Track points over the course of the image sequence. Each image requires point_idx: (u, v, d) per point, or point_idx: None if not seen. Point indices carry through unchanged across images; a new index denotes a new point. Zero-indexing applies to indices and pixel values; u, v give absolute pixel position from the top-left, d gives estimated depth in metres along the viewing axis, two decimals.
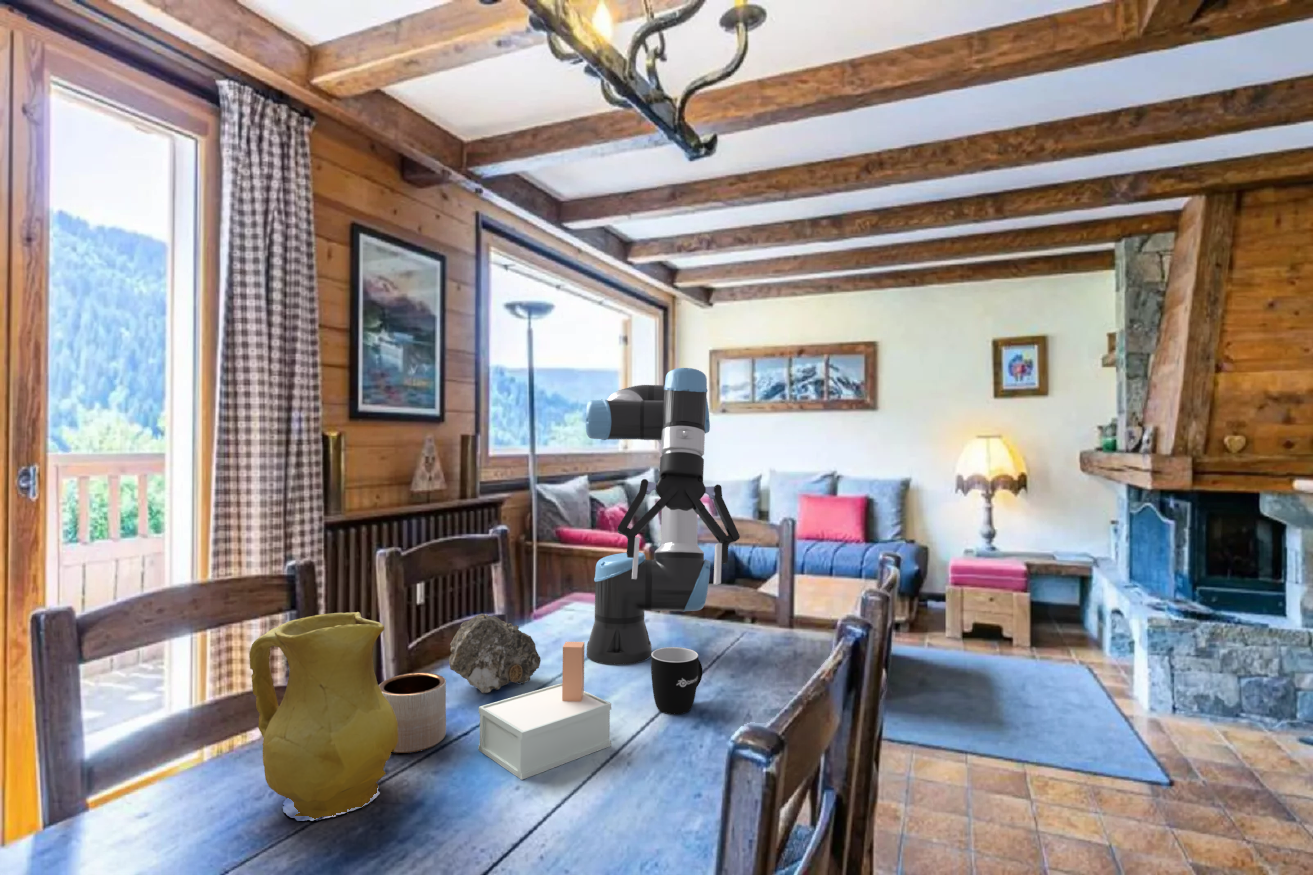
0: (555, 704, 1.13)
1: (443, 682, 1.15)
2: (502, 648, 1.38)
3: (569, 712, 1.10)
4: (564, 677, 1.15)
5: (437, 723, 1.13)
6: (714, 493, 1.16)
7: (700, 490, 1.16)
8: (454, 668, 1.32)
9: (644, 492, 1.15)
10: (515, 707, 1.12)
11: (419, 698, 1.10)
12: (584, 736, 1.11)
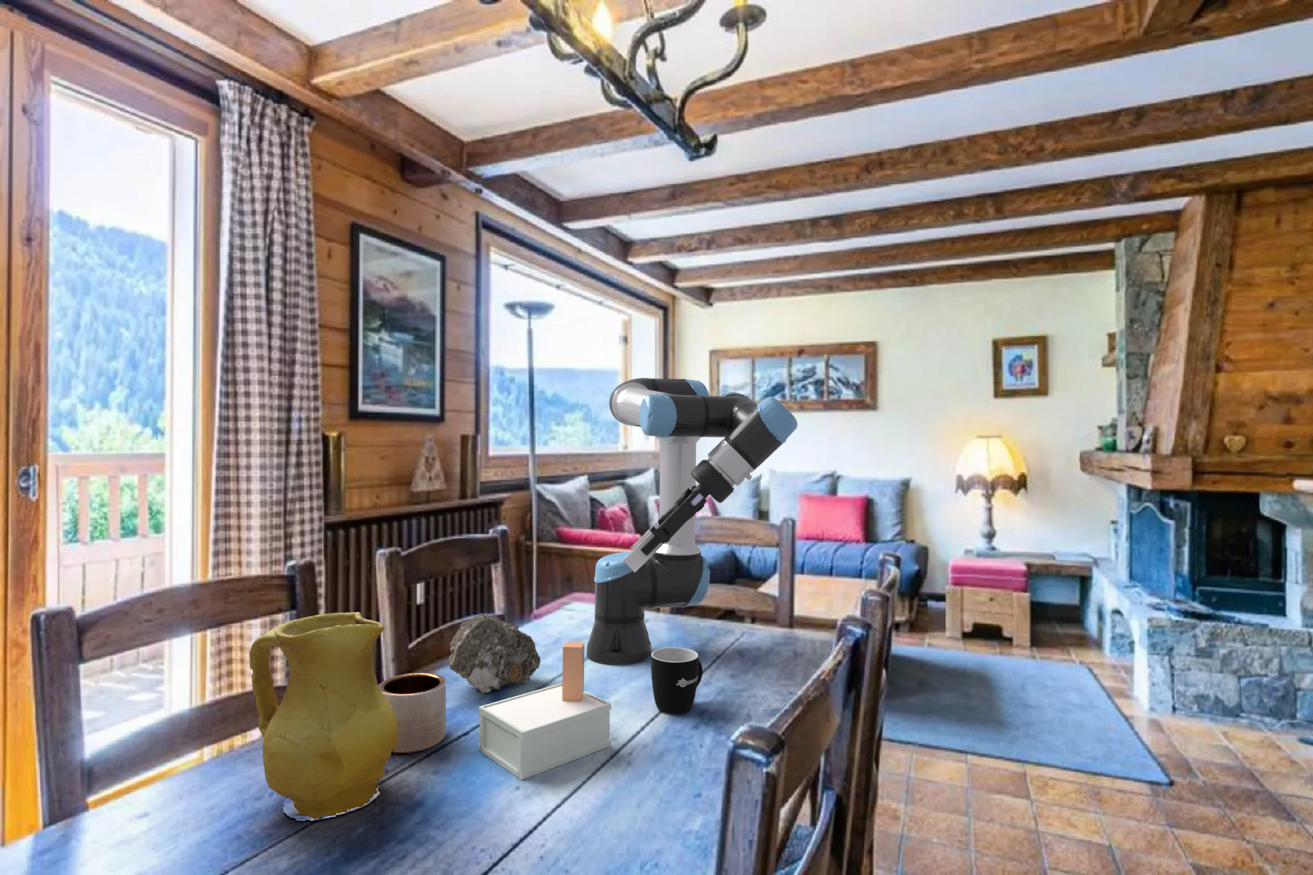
0: (555, 704, 1.13)
1: (443, 682, 1.15)
2: (501, 648, 1.38)
3: (569, 712, 1.10)
4: (564, 677, 1.15)
5: (437, 723, 1.13)
6: None
7: None
8: (454, 668, 1.32)
9: None
10: (515, 707, 1.12)
11: (419, 698, 1.10)
12: (584, 736, 1.11)
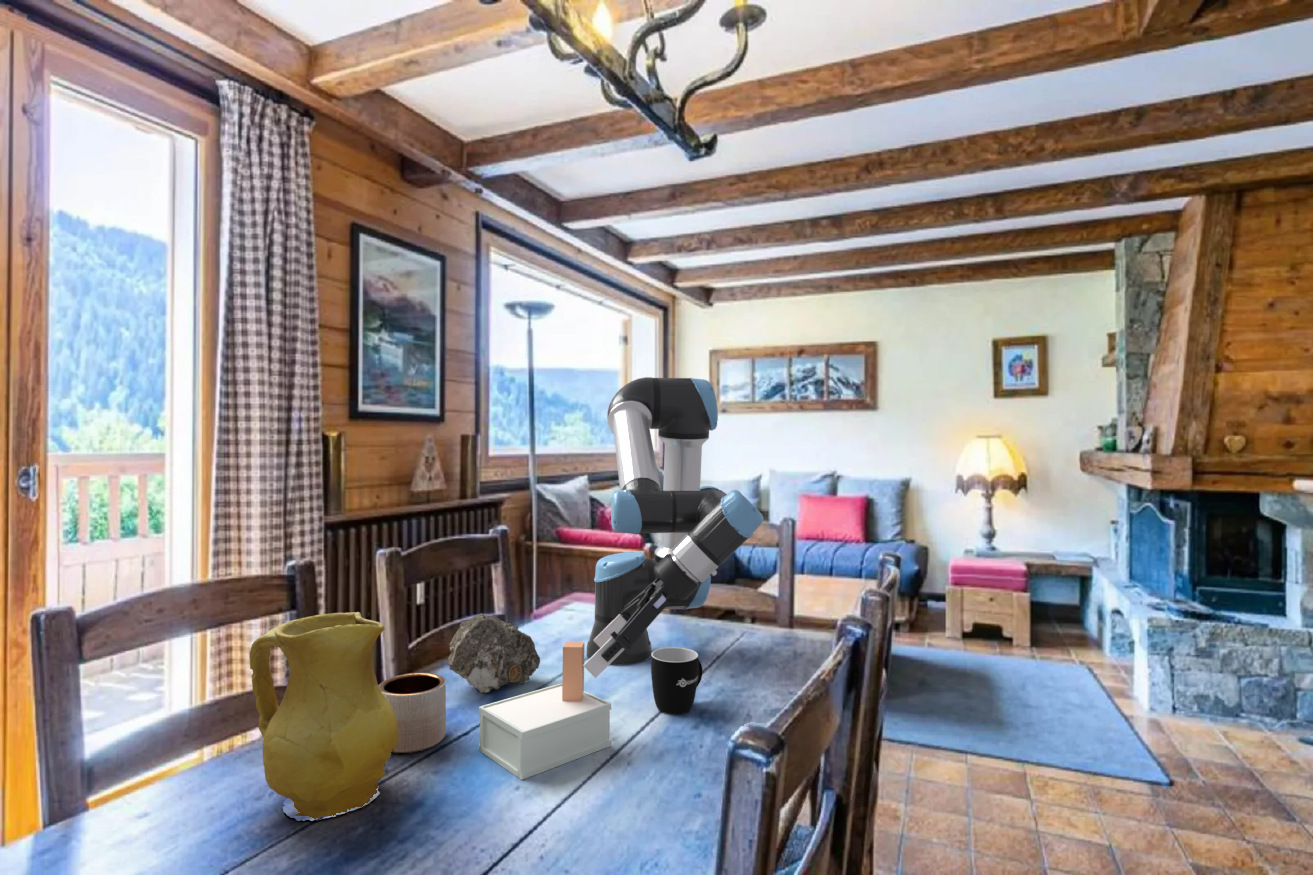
0: (555, 704, 1.13)
1: (443, 682, 1.15)
2: (501, 648, 1.38)
3: (569, 712, 1.10)
4: (564, 677, 1.15)
5: (437, 723, 1.13)
6: None
7: None
8: (453, 668, 1.32)
9: None
10: (515, 707, 1.12)
11: (419, 698, 1.10)
12: (584, 736, 1.11)
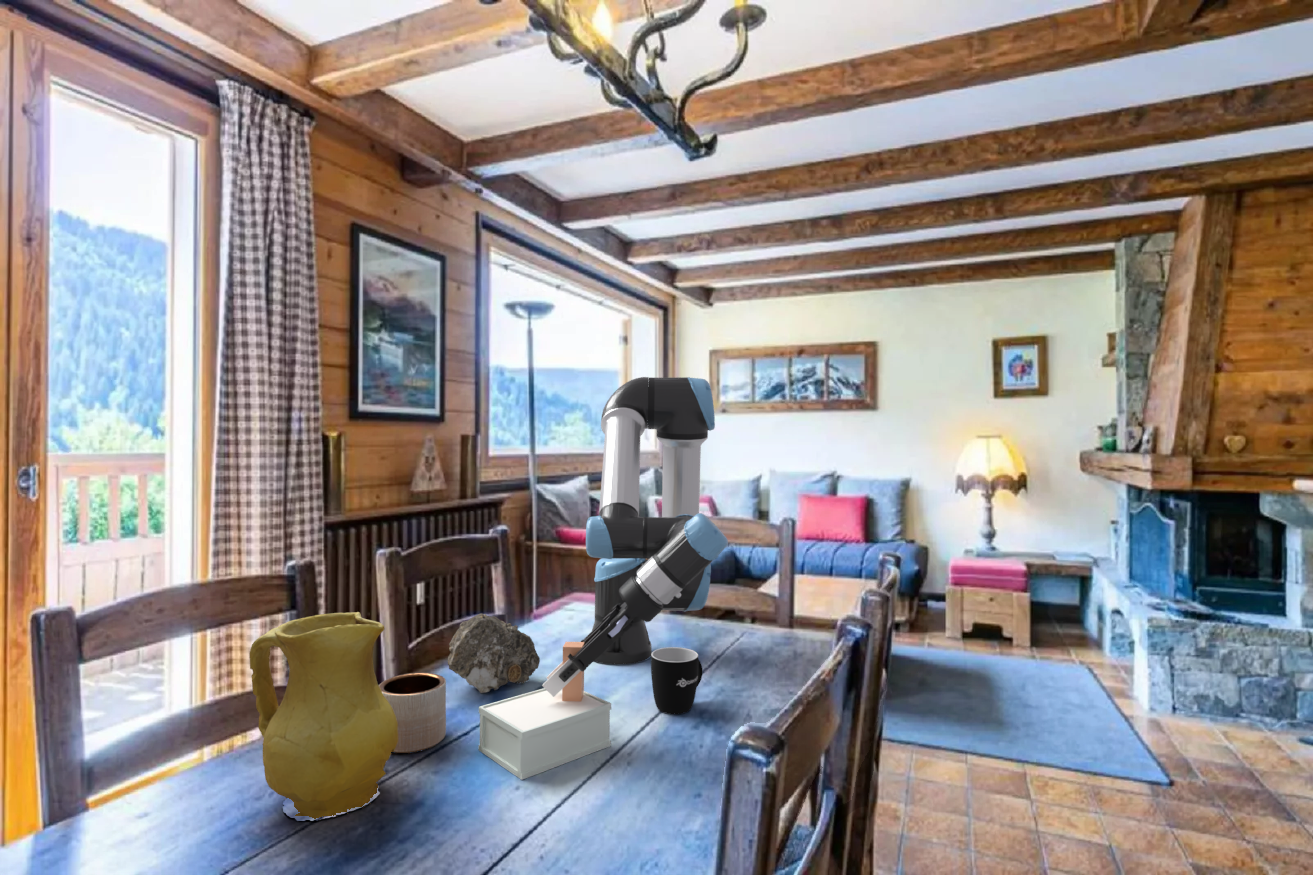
0: (555, 704, 1.13)
1: (443, 682, 1.15)
2: (500, 648, 1.38)
3: (569, 712, 1.10)
4: None
5: (437, 723, 1.13)
6: None
7: None
8: (452, 668, 1.32)
9: None
10: (515, 707, 1.12)
11: (419, 698, 1.10)
12: (584, 736, 1.11)
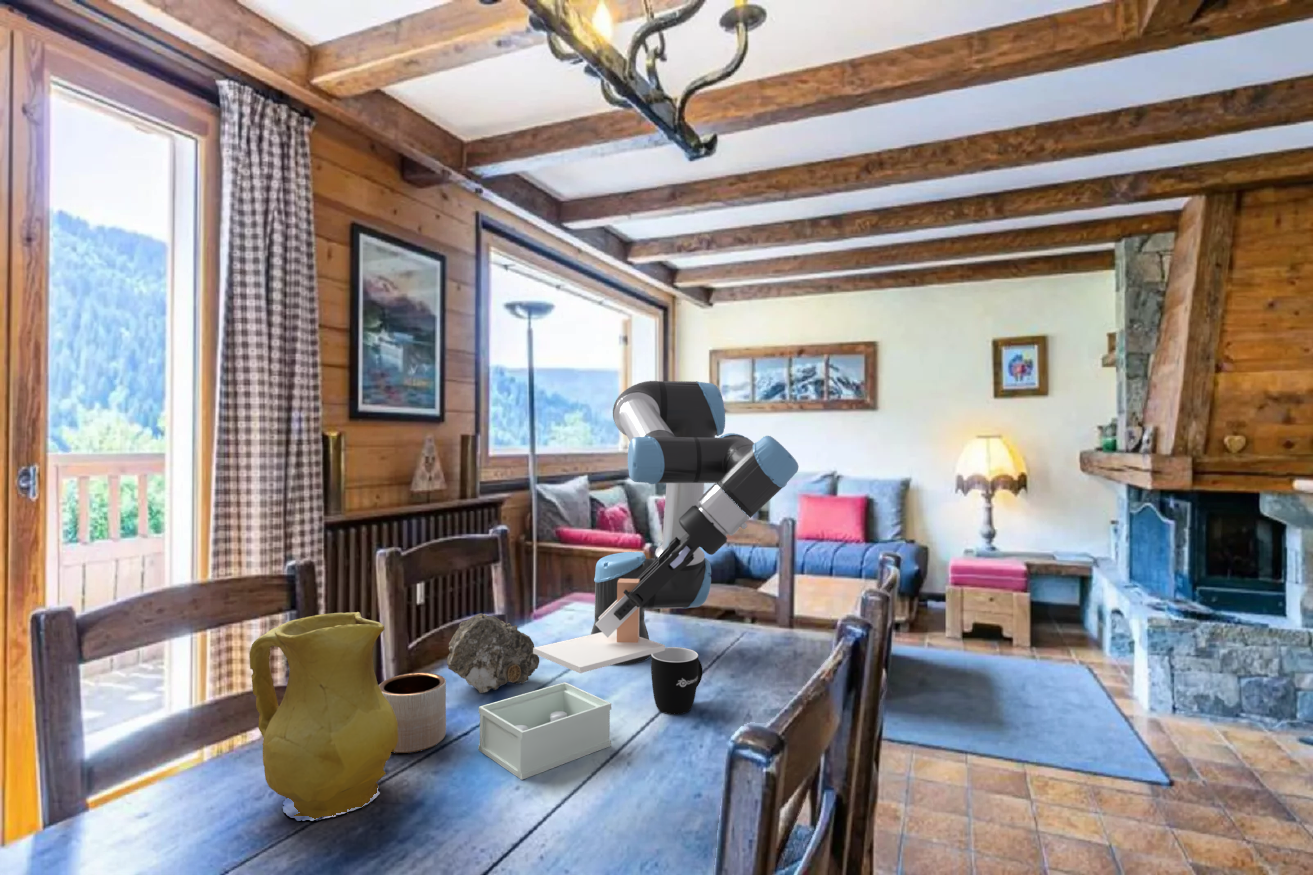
0: (609, 645, 1.03)
1: (443, 682, 1.15)
2: (500, 648, 1.38)
3: (627, 651, 1.00)
4: None
5: (437, 723, 1.13)
6: None
7: None
8: (451, 668, 1.32)
9: None
10: (566, 646, 1.02)
11: (419, 698, 1.10)
12: (584, 736, 1.11)
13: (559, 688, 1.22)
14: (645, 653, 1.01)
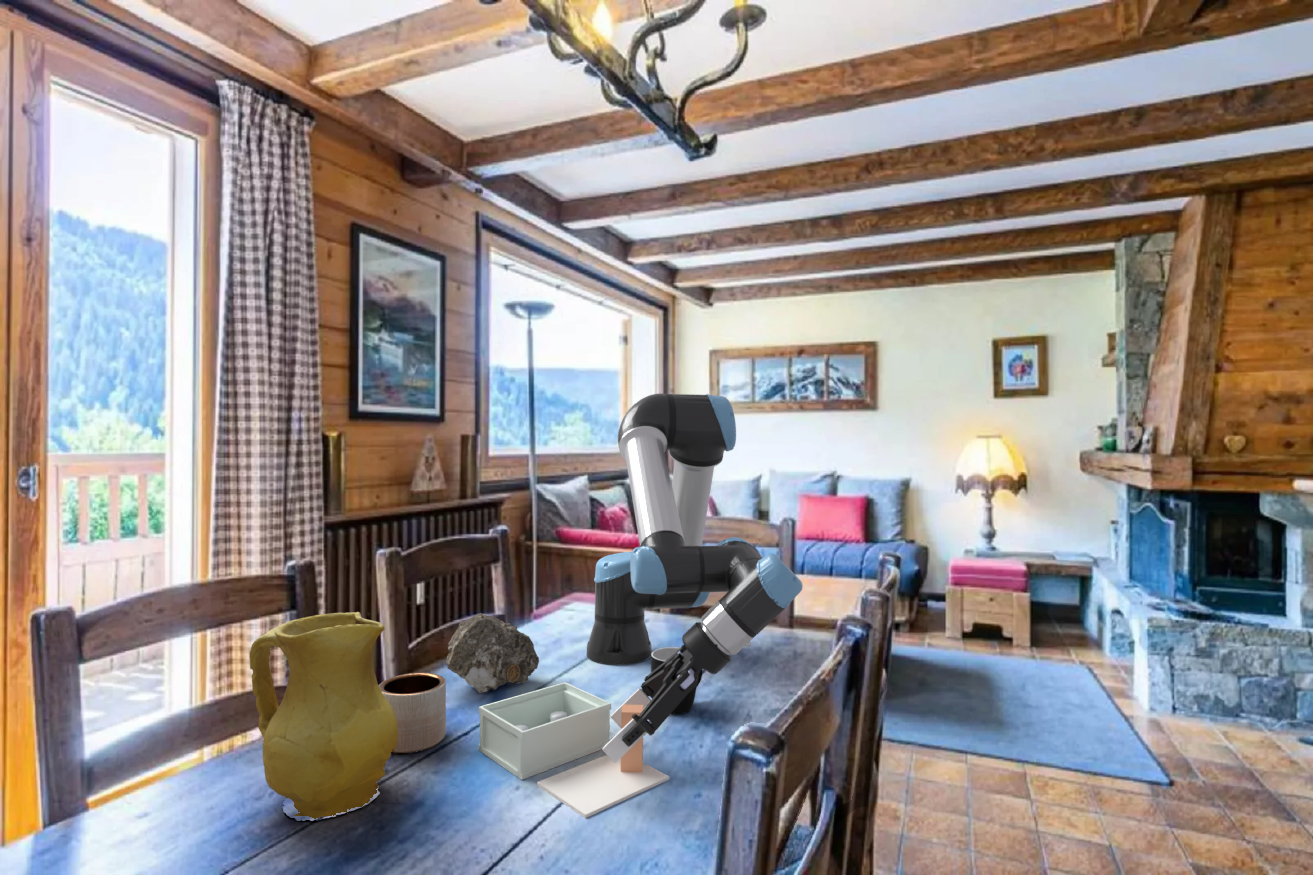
0: (613, 777, 1.03)
1: (443, 682, 1.15)
2: (499, 647, 1.38)
3: (631, 788, 0.99)
4: None
5: (437, 723, 1.13)
6: None
7: None
8: (450, 667, 1.32)
9: None
10: (570, 780, 1.01)
11: (419, 698, 1.10)
12: (584, 736, 1.11)
13: (559, 688, 1.22)
14: (649, 788, 1.00)
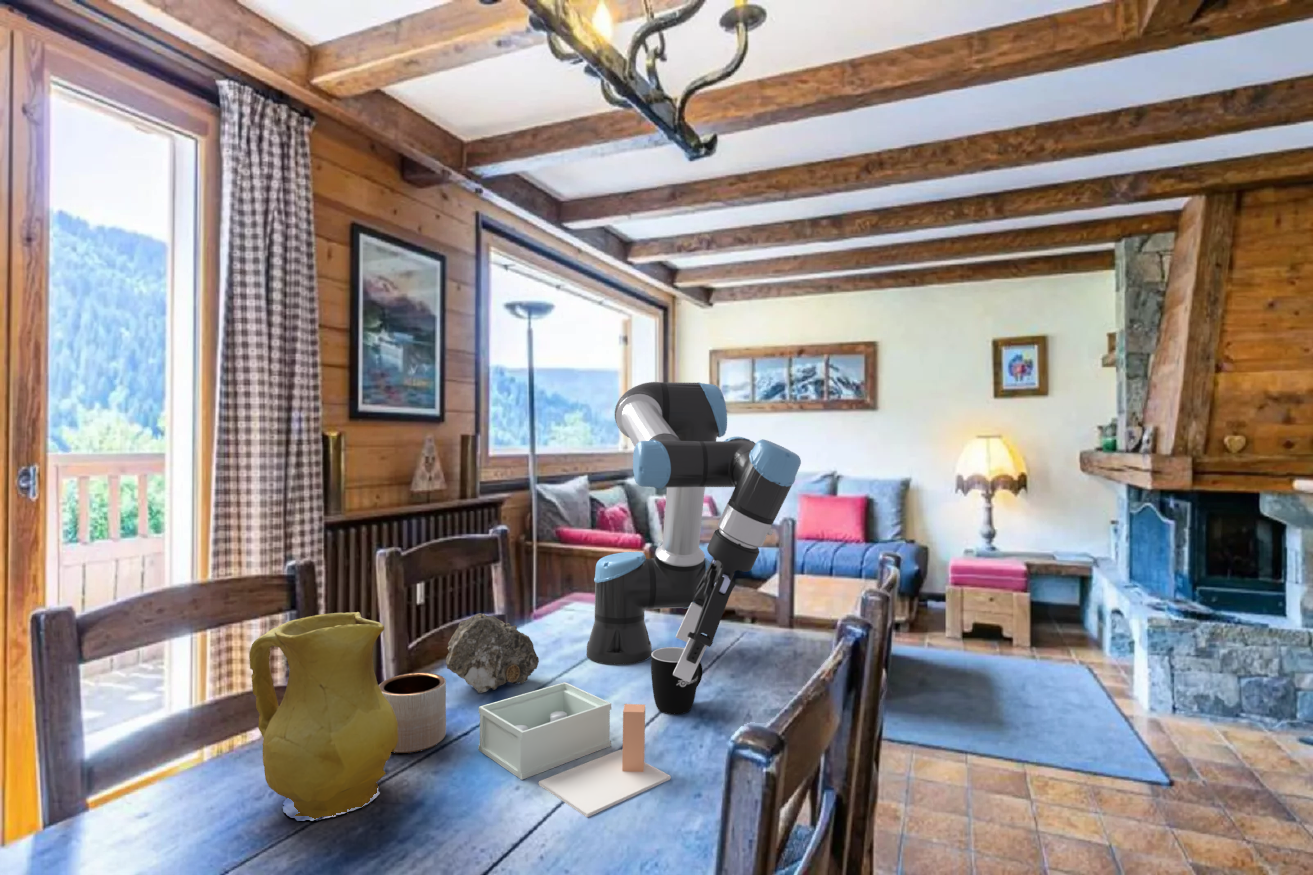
0: (615, 776, 1.03)
1: (443, 682, 1.15)
2: (499, 647, 1.38)
3: (633, 787, 1.00)
4: (624, 745, 1.04)
5: (437, 723, 1.13)
6: None
7: None
8: (450, 667, 1.32)
9: None
10: (571, 779, 1.02)
11: (419, 698, 1.10)
12: (584, 736, 1.11)
13: (559, 688, 1.22)
14: None
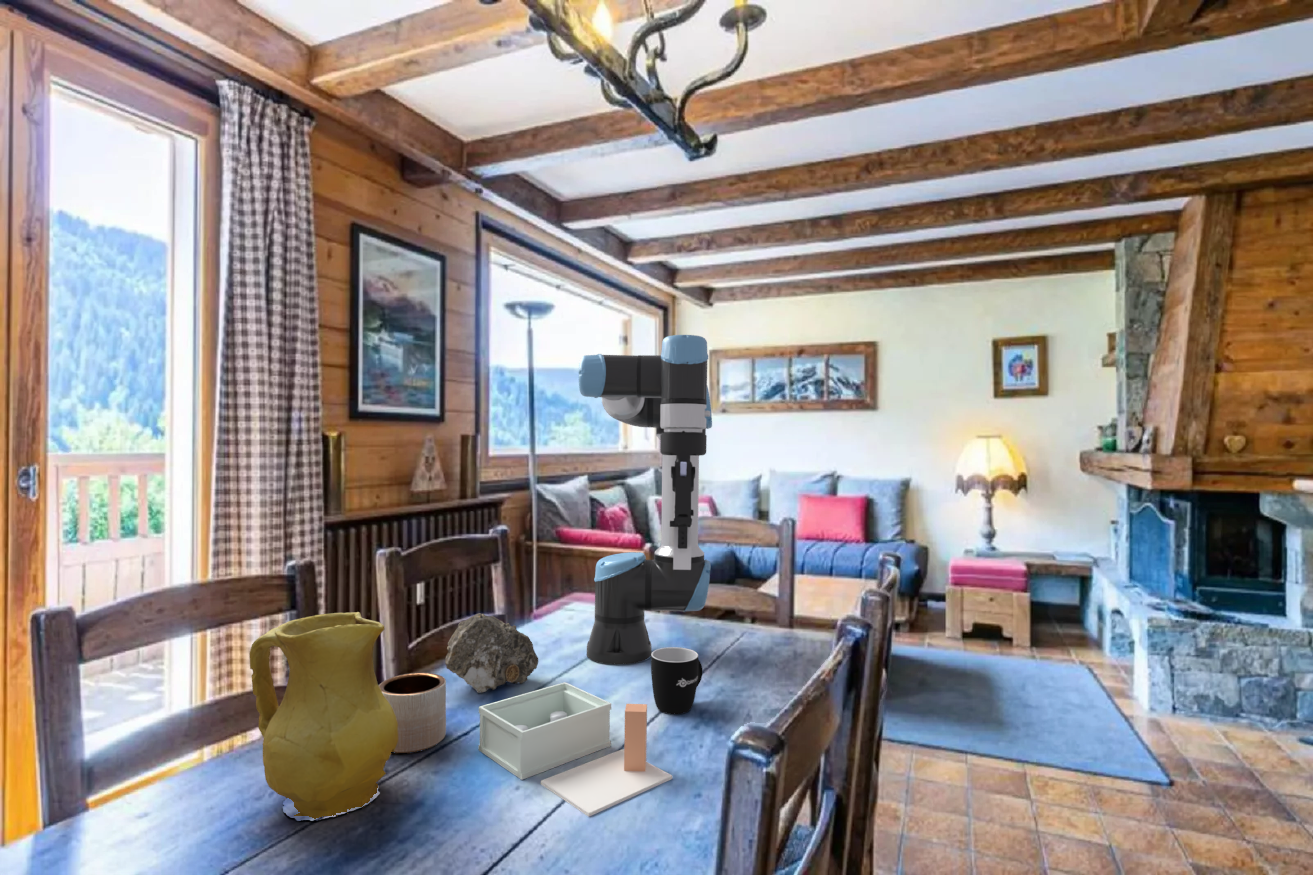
0: (617, 776, 1.03)
1: (443, 682, 1.15)
2: (498, 647, 1.38)
3: (635, 786, 1.00)
4: (626, 744, 1.04)
5: (437, 723, 1.13)
6: None
7: None
8: (449, 667, 1.32)
9: None
10: (573, 779, 1.02)
11: (419, 698, 1.10)
12: (584, 736, 1.11)
13: (559, 688, 1.22)
14: None
